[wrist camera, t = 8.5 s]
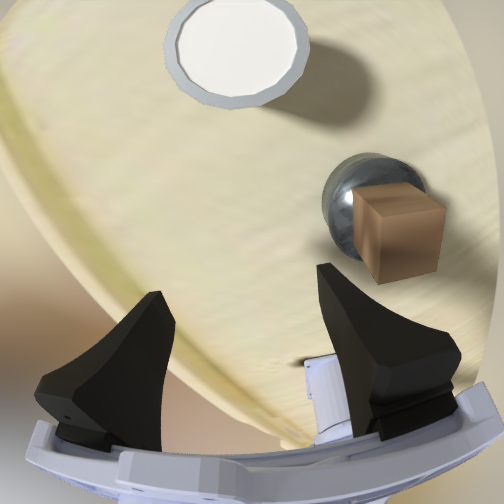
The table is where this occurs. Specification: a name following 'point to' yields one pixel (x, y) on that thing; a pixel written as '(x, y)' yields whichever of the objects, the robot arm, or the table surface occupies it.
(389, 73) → the table surface
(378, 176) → the tin
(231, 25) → the grey and white cylinder
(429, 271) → the walnut block
